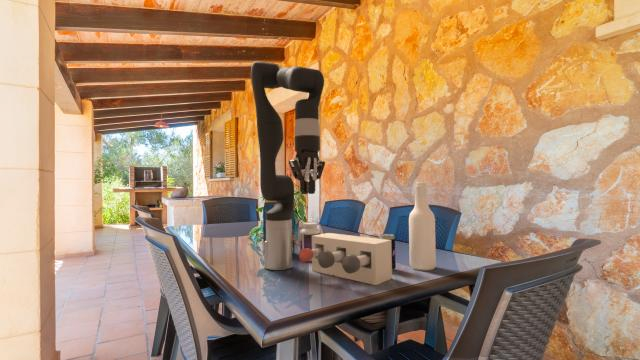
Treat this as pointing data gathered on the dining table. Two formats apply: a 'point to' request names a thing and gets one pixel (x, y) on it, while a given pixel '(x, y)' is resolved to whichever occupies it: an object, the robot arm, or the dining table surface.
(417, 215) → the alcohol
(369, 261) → the knob
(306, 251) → the red knob
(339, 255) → the knob
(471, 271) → the dining table surface
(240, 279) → the dining table surface
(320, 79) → the robot arm
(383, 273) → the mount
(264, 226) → the dark thin upright pieces
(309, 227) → the pill bottle
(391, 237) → the beverage can
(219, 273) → the dining table surface
